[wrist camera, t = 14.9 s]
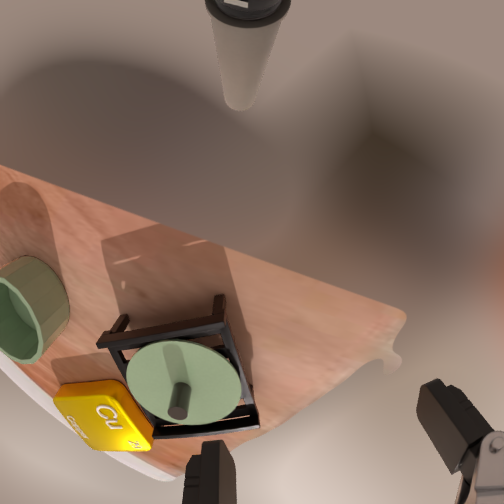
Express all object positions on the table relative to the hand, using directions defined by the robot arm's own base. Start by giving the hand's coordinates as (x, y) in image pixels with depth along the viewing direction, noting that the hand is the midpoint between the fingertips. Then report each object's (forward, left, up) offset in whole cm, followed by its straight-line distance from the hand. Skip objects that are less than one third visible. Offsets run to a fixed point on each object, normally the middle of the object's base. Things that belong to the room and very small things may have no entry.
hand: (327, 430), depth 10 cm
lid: (+14, -14, -22) cm, 29 cm away
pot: (0, -36, -28) cm, 46 cm away
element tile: (+24, -34, -28) cm, 50 cm away
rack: (+14, -14, -28) cm, 34 cm away
